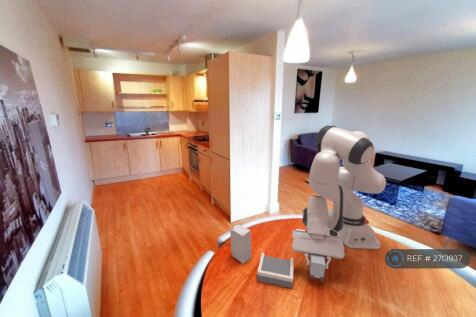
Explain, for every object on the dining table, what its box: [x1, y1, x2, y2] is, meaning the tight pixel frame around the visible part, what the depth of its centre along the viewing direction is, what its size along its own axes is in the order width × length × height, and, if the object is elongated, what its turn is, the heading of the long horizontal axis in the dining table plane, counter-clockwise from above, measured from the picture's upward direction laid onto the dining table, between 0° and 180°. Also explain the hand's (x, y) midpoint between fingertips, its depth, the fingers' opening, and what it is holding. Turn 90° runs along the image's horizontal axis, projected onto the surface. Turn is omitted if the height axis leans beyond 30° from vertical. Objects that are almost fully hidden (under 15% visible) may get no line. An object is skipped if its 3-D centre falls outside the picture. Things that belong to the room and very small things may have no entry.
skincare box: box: [229, 224, 252, 265], centre depth 99 cm, size 8×6×15 cm
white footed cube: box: [309, 254, 326, 281], centre depth 86 cm, size 5×6×8 cm
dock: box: [256, 252, 294, 289], centre depth 90 cm, size 14×12×4 cm
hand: (317, 267), depth 85 cm, fingers closed on white footed cube, 5 cm apart
